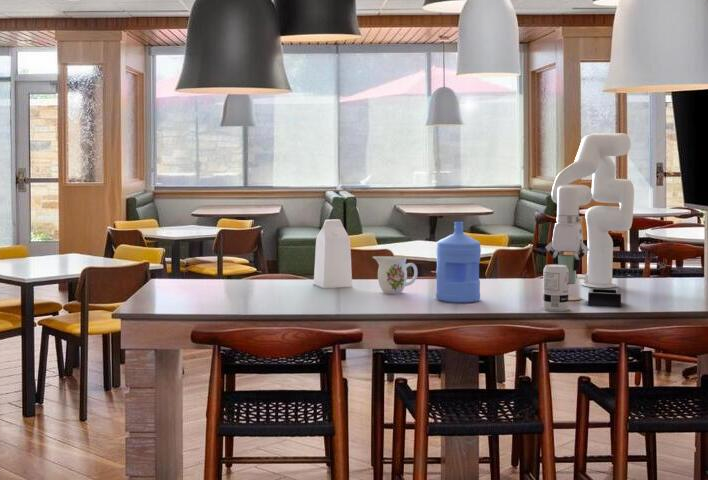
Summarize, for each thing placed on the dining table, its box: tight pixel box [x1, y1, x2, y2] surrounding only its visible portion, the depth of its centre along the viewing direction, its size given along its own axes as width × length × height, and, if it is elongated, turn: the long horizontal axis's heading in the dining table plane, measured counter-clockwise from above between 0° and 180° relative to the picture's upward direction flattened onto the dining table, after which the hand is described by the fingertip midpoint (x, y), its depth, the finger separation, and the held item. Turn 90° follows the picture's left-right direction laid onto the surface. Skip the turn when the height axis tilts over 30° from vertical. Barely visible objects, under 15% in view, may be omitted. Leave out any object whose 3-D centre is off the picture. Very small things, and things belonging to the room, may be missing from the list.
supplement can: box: [542, 263, 570, 312], centre depth 328 cm, size 8×8×15 cm
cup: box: [558, 254, 577, 285], centre depth 351 cm, size 6×6×10 cm
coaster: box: [568, 295, 582, 302], centre depth 352 cm, size 10×10×1 cm
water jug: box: [435, 221, 482, 304], centre depth 348 cm, size 16×16×28 cm
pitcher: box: [372, 255, 419, 295], centre depth 365 cm, size 11×18×14 cm, turn 104°
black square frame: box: [587, 287, 622, 308], centre depth 340 cm, size 11×11×5 cm
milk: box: [313, 219, 353, 289], centre depth 383 cm, size 12×12×26 cm
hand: (566, 269), depth 351 cm, fingers closed on cup, 6 cm apart
